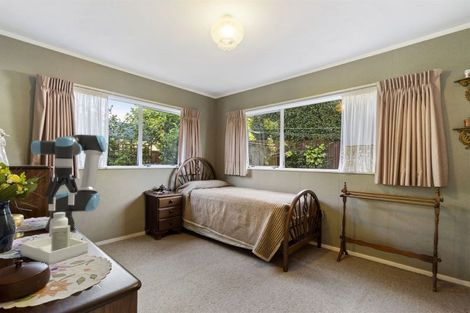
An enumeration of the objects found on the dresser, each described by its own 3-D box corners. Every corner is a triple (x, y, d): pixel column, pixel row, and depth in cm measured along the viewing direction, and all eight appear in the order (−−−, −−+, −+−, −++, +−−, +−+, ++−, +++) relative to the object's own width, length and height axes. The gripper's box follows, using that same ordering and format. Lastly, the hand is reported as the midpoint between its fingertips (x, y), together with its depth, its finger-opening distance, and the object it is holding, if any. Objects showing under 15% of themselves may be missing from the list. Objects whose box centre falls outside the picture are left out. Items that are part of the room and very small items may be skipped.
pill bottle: (51, 244, 122) (53, 215, 123) (46, 240, 127) (48, 212, 127) (69, 240, 128) (70, 212, 129) (64, 237, 133) (65, 210, 134)
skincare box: (69, 250, 111) (71, 224, 111) (67, 254, 107) (68, 227, 107) (53, 252, 108) (55, 225, 109) (50, 255, 104) (51, 228, 105)
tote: (59, 244, 122) (59, 234, 122) (87, 252, 111) (88, 242, 111) (20, 254, 107) (21, 243, 108) (48, 265, 97) (49, 253, 97)
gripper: (72, 165, 134) (71, 202, 134) (36, 167, 109) (34, 212, 109) (86, 166, 134) (84, 203, 134) (52, 168, 109) (50, 213, 109)
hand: (61, 207), depth 122 cm, fingers open, 13 cm apart
